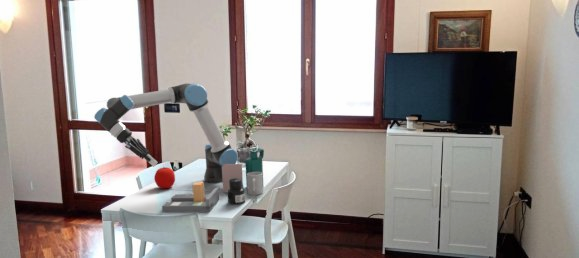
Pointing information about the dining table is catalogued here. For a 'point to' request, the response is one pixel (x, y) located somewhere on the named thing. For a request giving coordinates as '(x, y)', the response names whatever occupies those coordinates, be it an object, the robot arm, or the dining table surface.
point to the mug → (254, 183)
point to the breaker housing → (191, 203)
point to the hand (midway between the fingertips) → (155, 164)
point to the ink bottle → (236, 191)
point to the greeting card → (231, 174)
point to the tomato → (164, 177)
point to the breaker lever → (198, 192)
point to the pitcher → (254, 162)
